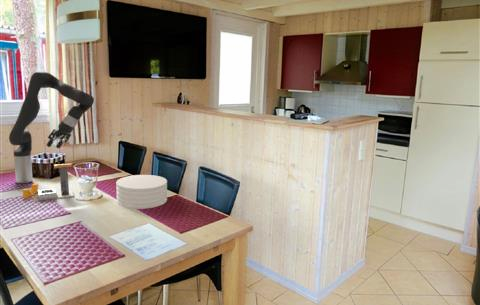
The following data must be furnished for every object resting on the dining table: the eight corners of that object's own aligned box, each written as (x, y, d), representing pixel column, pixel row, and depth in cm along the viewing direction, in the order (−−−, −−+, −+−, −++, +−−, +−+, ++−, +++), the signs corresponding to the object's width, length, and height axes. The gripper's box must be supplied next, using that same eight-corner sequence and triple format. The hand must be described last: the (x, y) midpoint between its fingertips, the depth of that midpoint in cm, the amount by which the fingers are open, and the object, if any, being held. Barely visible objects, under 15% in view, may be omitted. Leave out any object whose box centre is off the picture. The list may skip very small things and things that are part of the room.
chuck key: (56, 194, 206) (53, 164, 202) (73, 192, 211) (71, 162, 207) (56, 196, 203) (54, 166, 199) (74, 194, 208) (72, 164, 204)
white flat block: (38, 196, 204) (37, 190, 203) (55, 194, 208) (54, 188, 207) (39, 200, 196) (38, 194, 196) (56, 198, 201) (56, 192, 200)
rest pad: (56, 194, 208) (56, 193, 208) (71, 192, 212) (71, 191, 212) (58, 198, 201) (58, 197, 201) (73, 196, 206) (73, 195, 206)
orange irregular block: (30, 194, 211) (30, 183, 210) (38, 194, 211) (37, 183, 210) (20, 201, 199) (19, 189, 198) (28, 201, 200) (27, 190, 198)
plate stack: (172, 194, 222) (172, 176, 220) (158, 210, 195) (158, 190, 192) (128, 191, 224) (128, 173, 222) (107, 206, 197) (107, 186, 195)
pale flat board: (31, 198, 203) (31, 196, 203) (72, 194, 214) (72, 191, 214) (32, 205, 194) (32, 202, 194) (75, 199, 205) (75, 197, 205)
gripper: (70, 121, 214) (55, 144, 214) (55, 117, 200) (39, 142, 200) (80, 128, 213) (65, 151, 213) (66, 124, 199) (49, 149, 198)
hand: (52, 147), depth 206 cm, fingers open, 8 cm apart
